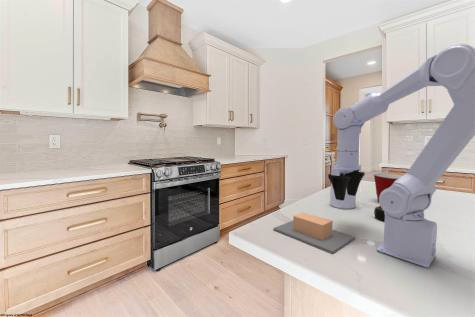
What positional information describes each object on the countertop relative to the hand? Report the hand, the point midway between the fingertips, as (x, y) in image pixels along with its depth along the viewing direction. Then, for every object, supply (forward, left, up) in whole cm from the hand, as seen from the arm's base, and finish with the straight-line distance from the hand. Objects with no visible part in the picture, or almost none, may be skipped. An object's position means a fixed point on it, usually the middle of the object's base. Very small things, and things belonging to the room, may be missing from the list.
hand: (345, 197), depth 66 cm
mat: (+4, +11, -9) cm, 15 cm away
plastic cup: (+1, -40, -10) cm, 41 cm away
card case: (+4, +11, -9) cm, 15 cm away
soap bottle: (+11, -22, -10) cm, 26 cm away
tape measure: (-6, -18, -10) cm, 22 cm away
